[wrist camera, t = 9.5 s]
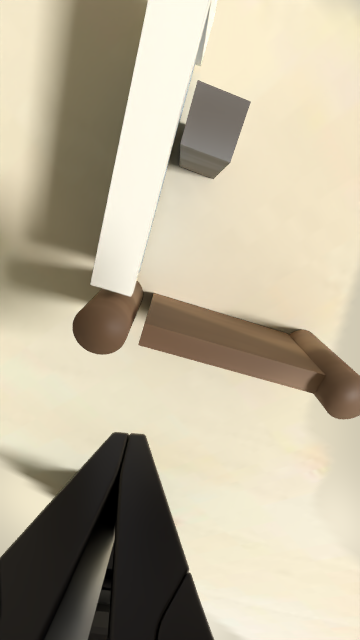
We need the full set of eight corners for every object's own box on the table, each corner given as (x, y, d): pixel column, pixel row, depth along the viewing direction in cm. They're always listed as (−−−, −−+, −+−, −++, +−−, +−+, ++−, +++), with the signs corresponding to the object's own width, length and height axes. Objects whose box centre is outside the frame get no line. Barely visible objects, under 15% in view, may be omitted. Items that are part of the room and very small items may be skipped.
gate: (116, 263, 16) (90, 284, 12) (176, 2, 12) (175, -136, 7) (144, 272, 17) (130, 296, 12) (213, 19, 12) (236, -104, 8)
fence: (306, 364, 20) (357, 423, 14) (102, 304, 18) (68, 346, 12) (395, 204, 16) (515, 199, 10) (147, 108, 14) (126, 38, 8)
